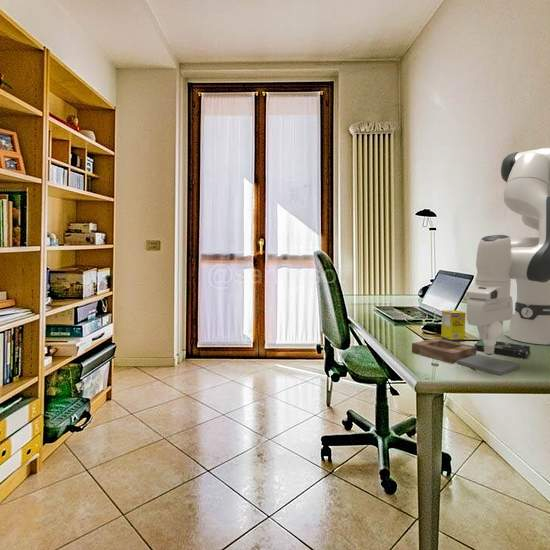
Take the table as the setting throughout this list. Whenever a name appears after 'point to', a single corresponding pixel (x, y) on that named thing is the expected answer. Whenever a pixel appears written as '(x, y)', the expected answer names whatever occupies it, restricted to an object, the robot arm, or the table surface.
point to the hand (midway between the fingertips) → (489, 337)
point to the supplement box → (453, 325)
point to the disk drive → (506, 349)
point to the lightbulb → (492, 337)
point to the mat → (488, 364)
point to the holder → (443, 349)
